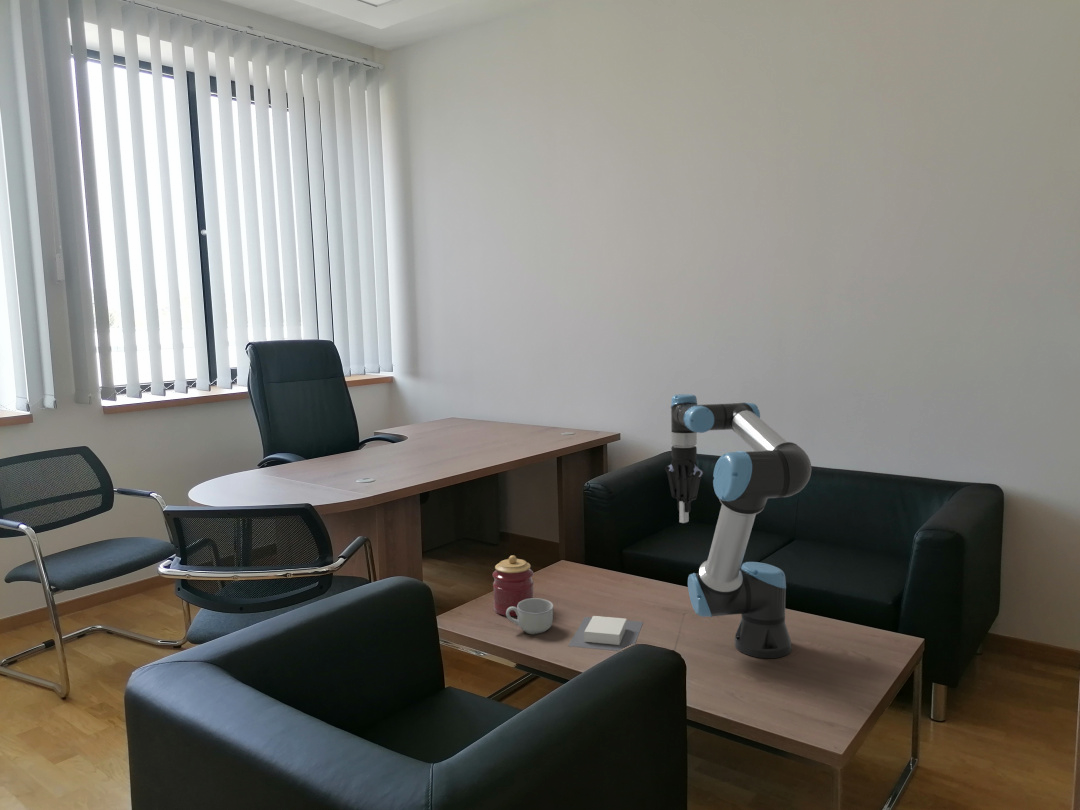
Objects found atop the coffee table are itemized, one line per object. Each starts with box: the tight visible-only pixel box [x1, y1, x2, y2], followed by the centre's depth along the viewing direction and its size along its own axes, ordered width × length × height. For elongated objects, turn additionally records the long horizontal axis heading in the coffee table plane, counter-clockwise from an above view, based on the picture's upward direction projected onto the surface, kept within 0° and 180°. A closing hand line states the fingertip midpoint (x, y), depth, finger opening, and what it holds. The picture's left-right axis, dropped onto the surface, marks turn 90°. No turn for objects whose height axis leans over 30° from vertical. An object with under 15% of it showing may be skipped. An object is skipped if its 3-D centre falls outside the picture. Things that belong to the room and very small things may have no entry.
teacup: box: [505, 597, 554, 635], centre depth 234 cm, size 14×11×8 cm
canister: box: [492, 555, 534, 617], centre depth 251 cm, size 13×13×18 cm
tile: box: [584, 615, 627, 645], centre depth 228 cm, size 3×10×12 cm
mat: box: [567, 616, 644, 652], centre depth 230 cm, size 22×18×1 cm
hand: (684, 521), depth 241 cm, fingers closed
